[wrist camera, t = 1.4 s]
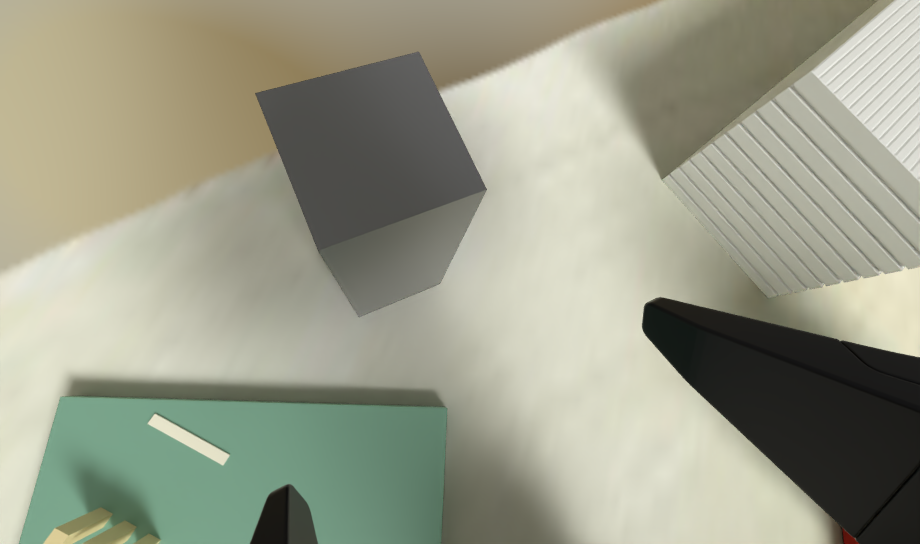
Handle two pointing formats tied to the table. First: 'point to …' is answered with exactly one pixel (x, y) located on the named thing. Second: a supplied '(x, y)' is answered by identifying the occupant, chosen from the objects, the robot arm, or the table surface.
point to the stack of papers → (821, 163)
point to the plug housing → (376, 175)
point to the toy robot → (848, 538)
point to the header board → (236, 471)
